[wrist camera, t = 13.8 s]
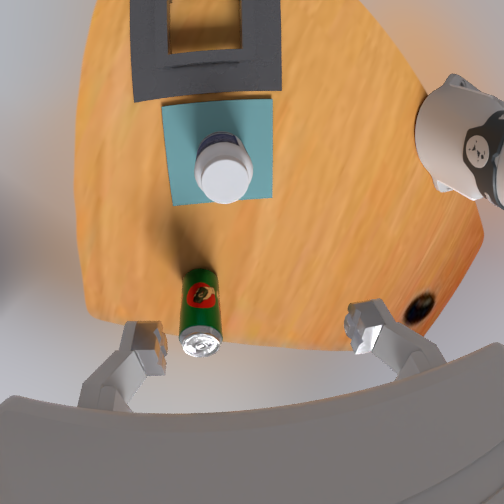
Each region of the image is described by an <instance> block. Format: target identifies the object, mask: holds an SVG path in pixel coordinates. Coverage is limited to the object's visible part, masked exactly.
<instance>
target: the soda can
mask: <svg viewBox="0 0 504 504" xmlns="http://www.w3.org/2000/svg"><path fill="white" fill-rule="evenodd" d="M222 340H223V336H222V324H221V311H220V298H219V284H218V279H217V277H216V275H215V274H214V273H213V272H211V271H209V270H206V269H194V270H192V271H190V272H188V273H187V274H186V275H185V276H184V278H183V285H182V297H181V311H180V327H179V341H180V343H181V344H182V348H183V350H184V351H185V352H186V353H187V354H189V355H191V356H195V357H208V356H211V355H213V354H215V353H216V352H217V351H218V350H219V348H220V344H221V343H222Z"/></svg>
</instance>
